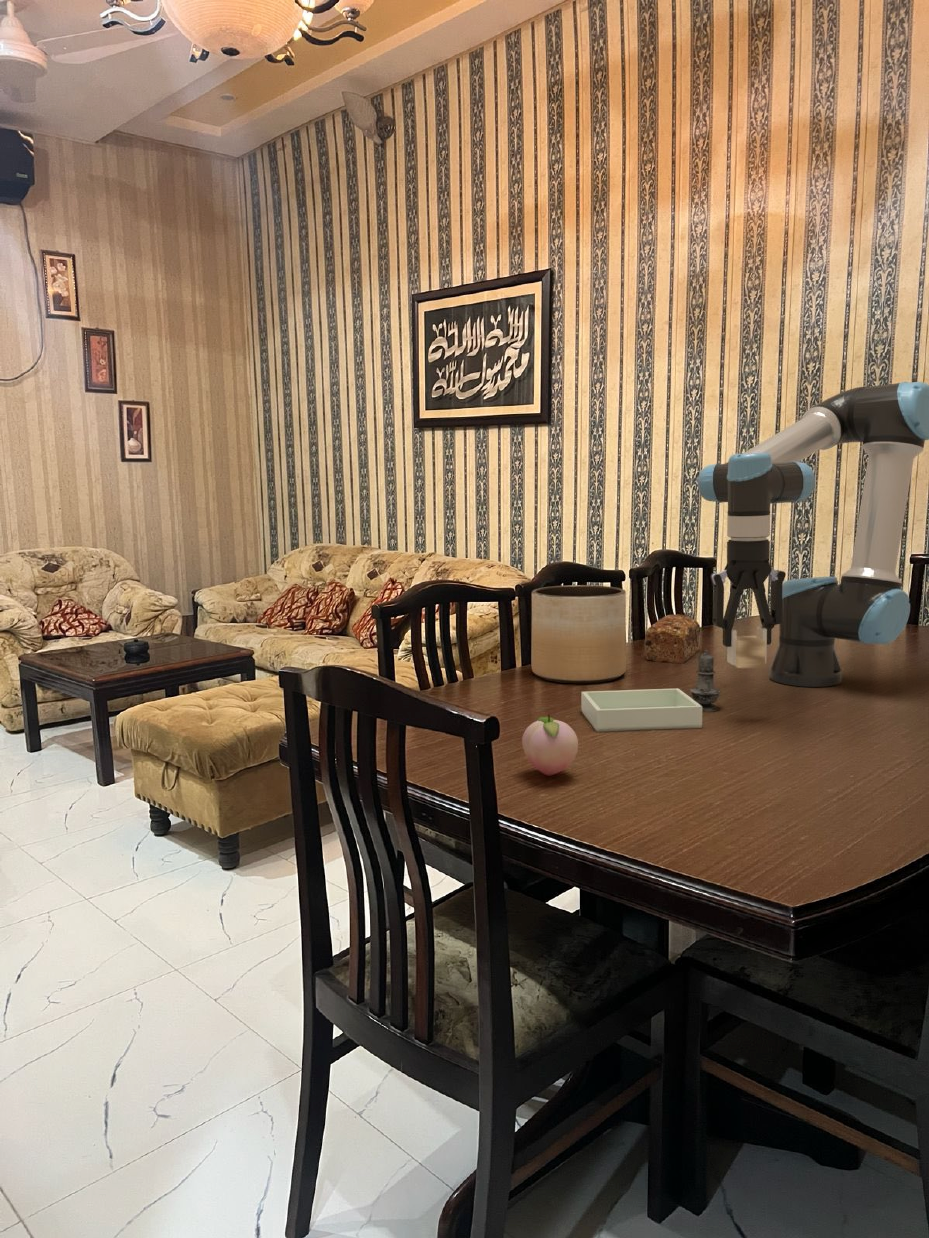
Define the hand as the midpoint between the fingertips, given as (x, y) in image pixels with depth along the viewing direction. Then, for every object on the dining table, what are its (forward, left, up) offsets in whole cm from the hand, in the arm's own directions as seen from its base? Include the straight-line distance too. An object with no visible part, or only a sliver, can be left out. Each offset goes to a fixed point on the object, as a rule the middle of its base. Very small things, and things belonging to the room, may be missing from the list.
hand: (746, 662), depth 169 cm
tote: (+19, -3, -11) cm, 23 cm away
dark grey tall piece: (+4, -10, -11) cm, 16 cm away
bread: (-5, -62, -12) cm, 63 cm away
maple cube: (0, 0, 0) cm, 0 cm away
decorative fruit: (+41, +27, -11) cm, 51 cm away
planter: (+23, -44, -11) cm, 51 cm away
